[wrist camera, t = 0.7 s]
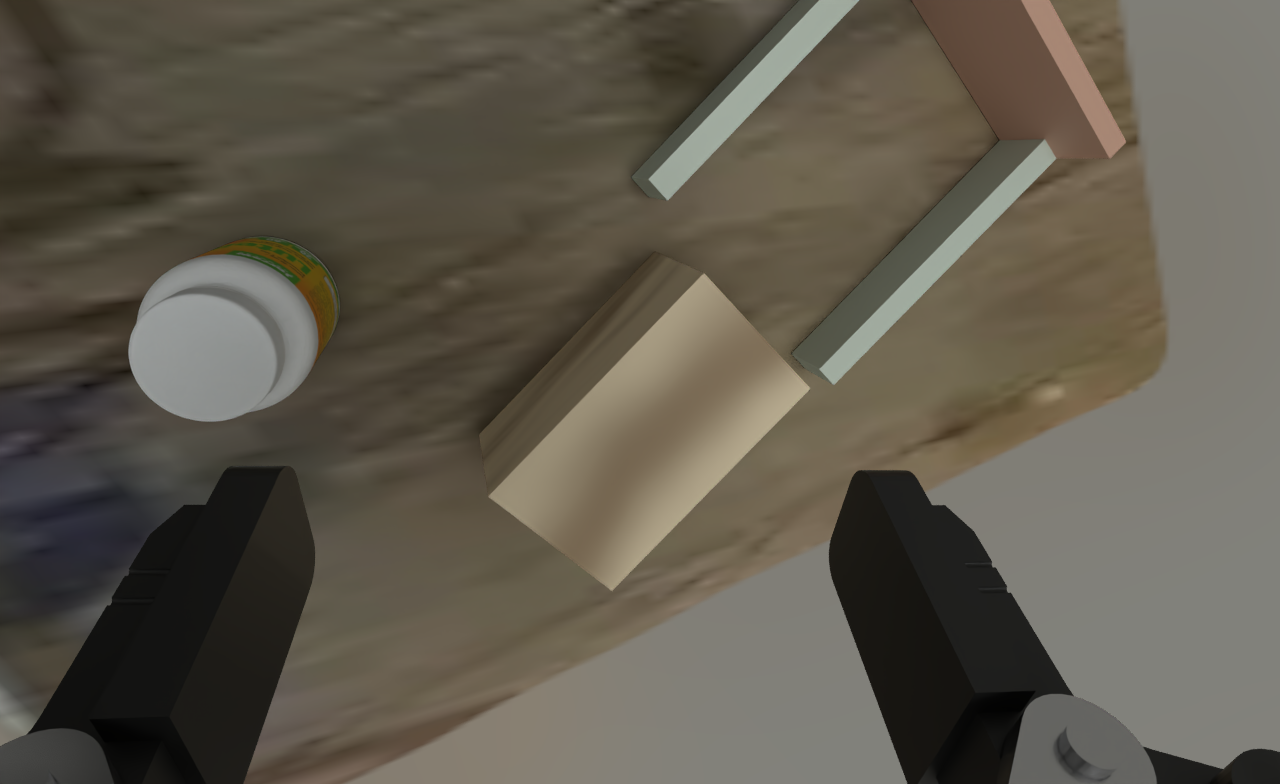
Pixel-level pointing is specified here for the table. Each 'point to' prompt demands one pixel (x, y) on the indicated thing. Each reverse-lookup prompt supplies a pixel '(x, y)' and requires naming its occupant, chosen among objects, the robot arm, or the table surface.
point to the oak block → (636, 419)
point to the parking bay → (1029, 142)
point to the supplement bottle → (233, 328)
